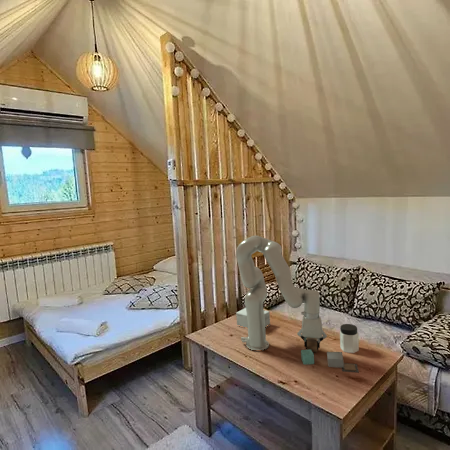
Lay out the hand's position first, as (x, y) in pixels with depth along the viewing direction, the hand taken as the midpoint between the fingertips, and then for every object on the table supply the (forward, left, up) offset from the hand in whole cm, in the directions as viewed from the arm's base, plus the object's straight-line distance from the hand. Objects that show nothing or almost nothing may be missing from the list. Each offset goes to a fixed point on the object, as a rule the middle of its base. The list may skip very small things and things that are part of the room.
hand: (312, 348), depth 169 cm
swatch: (+17, -13, -2) cm, 22 cm away
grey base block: (+11, -10, -2) cm, 15 cm away
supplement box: (-36, +29, -2) cm, 46 cm away
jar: (+19, +5, -2) cm, 19 cm away
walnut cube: (0, 0, -1) cm, 1 cm away
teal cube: (-2, -10, -2) cm, 10 cm away
